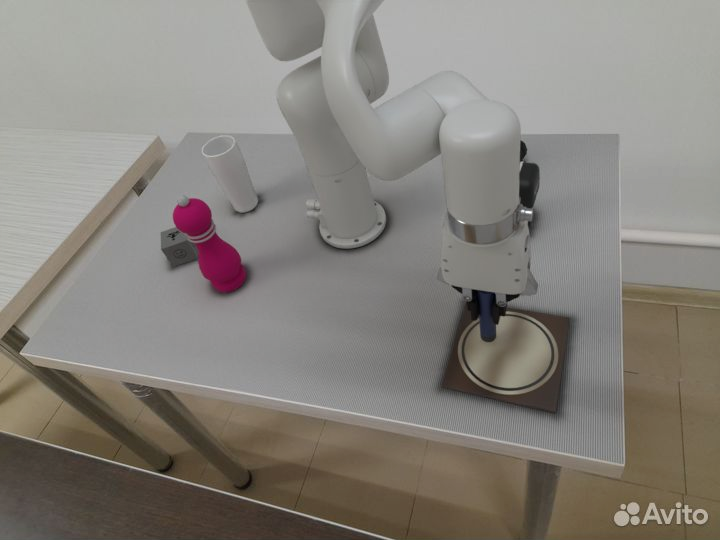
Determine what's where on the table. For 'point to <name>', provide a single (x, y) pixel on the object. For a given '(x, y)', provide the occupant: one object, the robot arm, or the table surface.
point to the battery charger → (528, 184)
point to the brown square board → (510, 359)
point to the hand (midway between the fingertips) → (487, 313)
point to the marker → (486, 316)
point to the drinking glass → (230, 172)
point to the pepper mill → (209, 245)
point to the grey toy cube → (177, 247)
